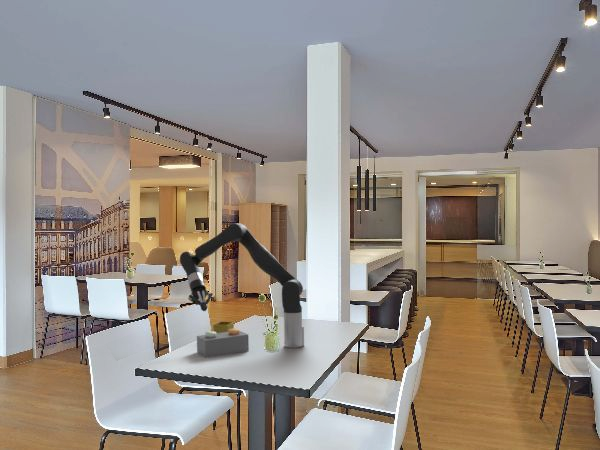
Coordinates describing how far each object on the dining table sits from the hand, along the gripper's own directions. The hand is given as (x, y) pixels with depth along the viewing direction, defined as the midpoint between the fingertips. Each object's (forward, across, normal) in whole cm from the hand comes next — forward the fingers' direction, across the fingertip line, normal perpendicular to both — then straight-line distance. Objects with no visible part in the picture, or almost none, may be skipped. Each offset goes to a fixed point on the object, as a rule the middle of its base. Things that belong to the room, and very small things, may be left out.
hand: (204, 310), depth 238 cm
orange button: (+15, +12, +4) cm, 20 cm away
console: (+20, +6, +8) cm, 22 cm away
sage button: (+15, 0, +4) cm, 15 cm away
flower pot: (+3, +16, +26) cm, 30 cm away
